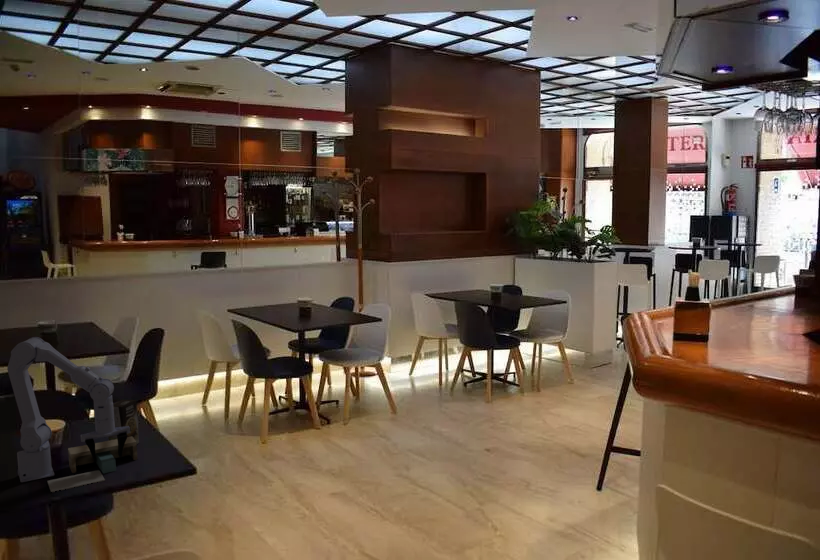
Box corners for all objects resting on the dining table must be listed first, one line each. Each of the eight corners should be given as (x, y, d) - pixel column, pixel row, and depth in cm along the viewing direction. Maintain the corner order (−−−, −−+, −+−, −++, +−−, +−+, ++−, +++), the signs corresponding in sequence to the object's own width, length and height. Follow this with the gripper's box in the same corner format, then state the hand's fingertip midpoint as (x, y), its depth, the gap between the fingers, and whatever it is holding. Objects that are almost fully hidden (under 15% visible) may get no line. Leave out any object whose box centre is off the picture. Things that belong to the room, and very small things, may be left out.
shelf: (72, 473, 221) (70, 454, 221) (69, 466, 227) (67, 448, 227) (137, 459, 232) (136, 441, 232) (133, 453, 238) (131, 436, 237)
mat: (51, 492, 206) (51, 491, 206) (47, 482, 214) (47, 480, 214) (104, 480, 214) (104, 479, 214) (99, 471, 223) (99, 469, 223)
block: (102, 474, 220) (102, 462, 220) (96, 463, 230) (95, 451, 230) (116, 471, 223) (115, 459, 222) (108, 460, 233) (108, 449, 232)
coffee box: (124, 451, 240) (121, 406, 239) (108, 450, 242) (105, 406, 240) (140, 442, 249) (137, 399, 248) (124, 442, 251) (121, 398, 249)
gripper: (81, 425, 214) (85, 467, 216) (130, 416, 222) (133, 457, 223) (78, 419, 220) (81, 460, 221) (126, 411, 228) (129, 451, 229)
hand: (107, 458), depth 223 cm, fingers open, 7 cm apart
